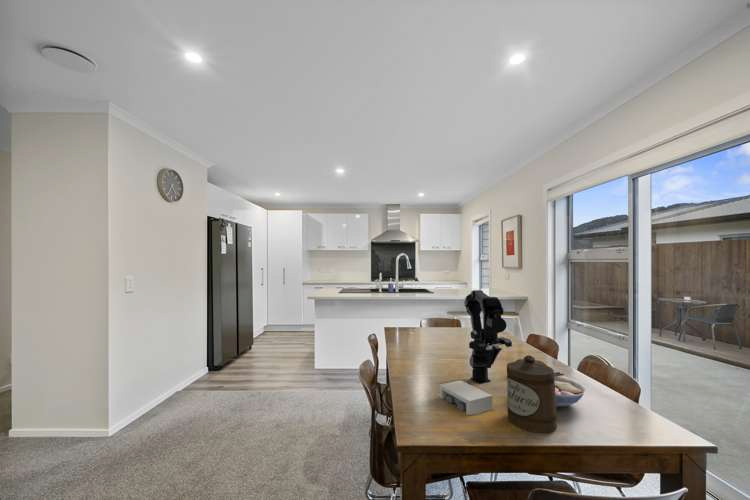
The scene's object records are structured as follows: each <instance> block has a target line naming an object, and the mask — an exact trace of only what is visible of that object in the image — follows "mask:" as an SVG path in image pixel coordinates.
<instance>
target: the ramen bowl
mask: <svg viewBox="0 0 750 500" xmlns="http://www.w3.org/2000/svg"><path fill="white" fill-rule="evenodd" d="M562 376H565V374H564V373H561V372H560V371H556V372H554V382H555V396H556V408H559V407H567V406H571V405H574V404H577V403H578V402H579V401H580V400H581V399H582V397H583V396H584V394H585V392H586V390H587V389H586V388H585V386H584V385H582V384H581V383H579V382H577V381H574V380H572V379H569V378H566V377H562Z"/></svg>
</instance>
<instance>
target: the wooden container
mask: <svg viewBox="0 0 750 500" xmlns="http://www.w3.org/2000/svg"><path fill="white" fill-rule="evenodd" d="M523 359H524V360H525V362H515V361H511V362H508V363H507V364H506V374H507V375H506V377H507V378H506V379H507V382H506V383H507V387H506V388H507V389H506V391H507V394H506V395H507V401H506V402H507V418H508V421H509V422H510V423H511V424H513V425H514V426H516V427H517V428H520V429H522V430H524V431H528V432H533V433H541V434H543V433H544V434H546V433H552V432H554V431H556V429H557V426H558V421H557V420H558V419H557V407H556V396H555V382H554V373H555V370H554V369H553V368H552V367H550V366H548V365H547V364H546V365H547V366H546V365H543V364H539V363H534V362H535V360H536V358H535V357H533V356H532V355H530V354H529V355H528V354H527V355H525V356H524V357H523Z"/></svg>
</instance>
